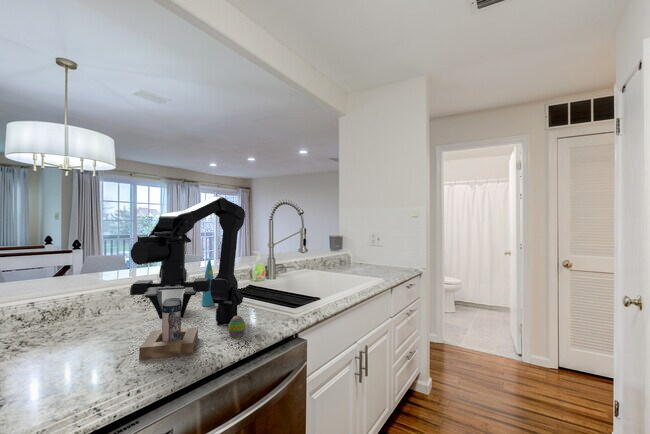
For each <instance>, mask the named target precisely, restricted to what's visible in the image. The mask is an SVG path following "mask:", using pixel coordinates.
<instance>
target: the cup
mask: <svg viewBox="0 0 650 434" xmlns="http://www.w3.org/2000/svg"><path fill="white" fill-rule="evenodd" d="M159 273H160V271H158V272H157V273H156V281H157V283H160V281H161V278H160V277H159ZM189 274H190V272H189V270H187V276H186V281H185V282H187V280H188V279H189V277H190V276H189ZM178 286H179V285H178ZM184 291H185V289H171V290H162V304H163V302H164V300H166V299H169V298H180V300H181V301H182V302H183V294H184ZM162 307H163V305H162Z"/></svg>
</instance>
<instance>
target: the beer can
mask: <svg viewBox="0 0 650 434" xmlns="http://www.w3.org/2000/svg"><path fill="white" fill-rule="evenodd" d="M162 305H163V309H162V319H161V330H162V342H165V341H177V340H181V329H182V318H181V310H182V301H181V300H180V298H169V299H166V300H164V302H163V304H162Z"/></svg>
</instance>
